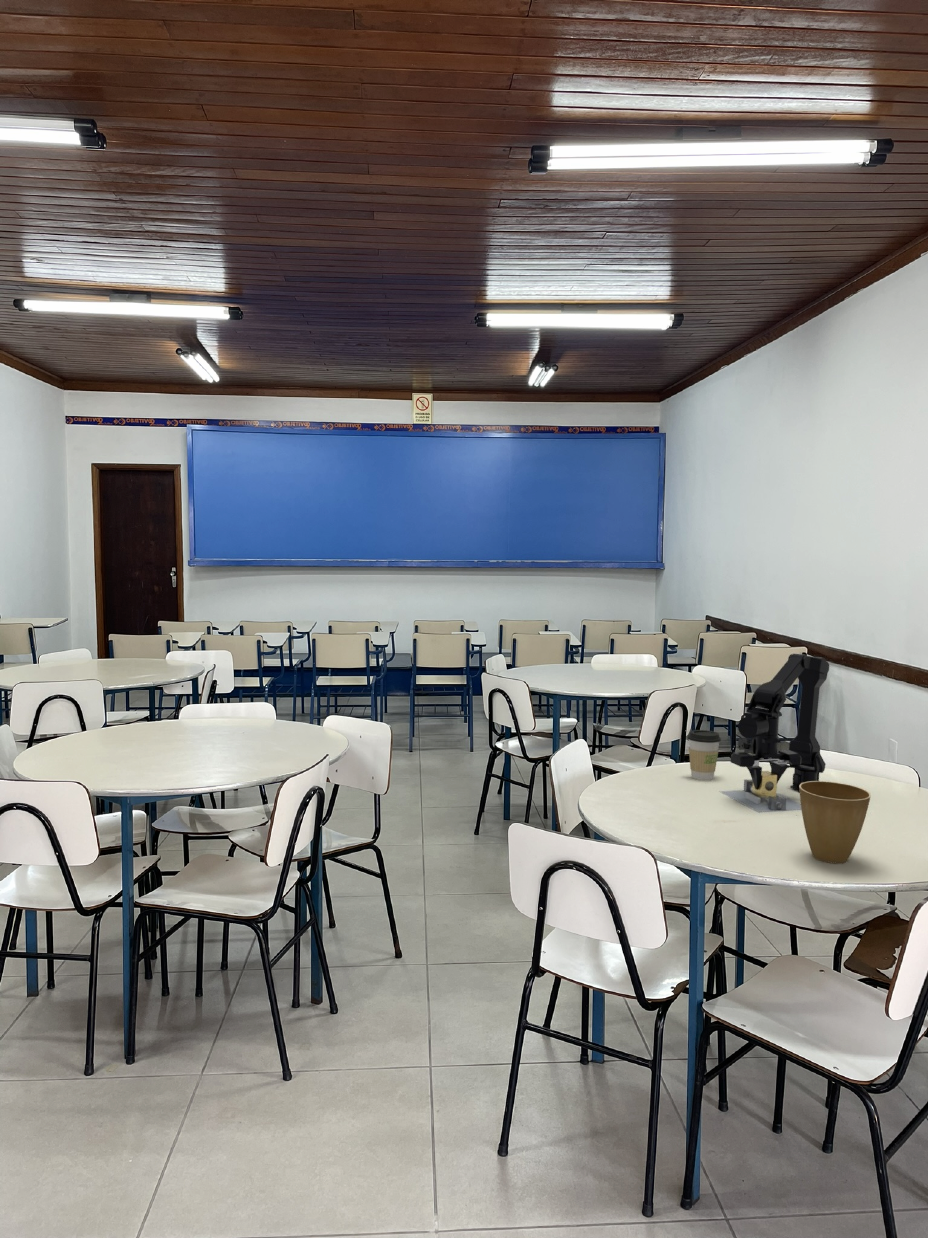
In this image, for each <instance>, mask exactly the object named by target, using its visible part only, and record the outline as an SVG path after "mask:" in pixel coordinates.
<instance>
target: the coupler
mask: <svg viewBox="0 0 928 1238" xmlns="http://www.w3.org/2000/svg"><path fill="white" fill-rule="evenodd" d="M777 785H778V783H777V775H776V774H774V773H772V772H771V771H770V770H762V773H761V779H760V786H759V789H758V790H756V789H755V787H754V784H753V793H754V794H756V795H758V796H760V797H768V796H773V797H774V796H776V793H777V788H778V787H777Z"/></svg>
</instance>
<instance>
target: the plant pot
mask: <svg viewBox="0 0 928 1238" xmlns="http://www.w3.org/2000/svg"><path fill="white" fill-rule="evenodd" d="M798 792H799V801H800V802H799V803H800V804H801V810H800V811H801V815H802V820H803V826H804V830H805V831H804V832H805V834H806V839H807V842H808V845H809V849H810V852H811V855H812V857H813V858H814V859H816V860H819V861H820V860H821V861H820V862H824V861H825V863H828V862H829V863H828V864H836V863H839V864H845V863H847V862H848V861H849V859H850V857H851V854H852V853H853V850H854V849H855V847H856V844H857V841H858V839H859V838H860V835H861V831H862V829H863V826H864V822H865V820H866V817H867V813H868V808H869V805H870V801H871V793H870V792H869V791H867V789H864V788H861V787H858V786H855V785H851V784H847V783H841V782H834V781H823V780H822V781H821V780H819V781H809V782H804V783H801V784H800V785H799V791H798ZM846 861H847V862H846ZM844 862H845V863H844Z"/></svg>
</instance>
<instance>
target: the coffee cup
mask: <svg viewBox="0 0 928 1238" xmlns="http://www.w3.org/2000/svg"><path fill="white" fill-rule="evenodd" d="M686 738H687V740H688V743H689V744H688V752H689V765H690V766H689V768H690V771H691V773H690V775H691V778H692V779H694V780H698V781H712V780H714V776H715V773H716V767H717V762H718V757H719V756H718V755H719V745H720V742H721V741H722V738H721V737H720V733H719V732H717V731H712V730H707V729H706V730H704V729H695V730H694V729H693V730H690V731H689V734H688V735H687V737H686Z"/></svg>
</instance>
